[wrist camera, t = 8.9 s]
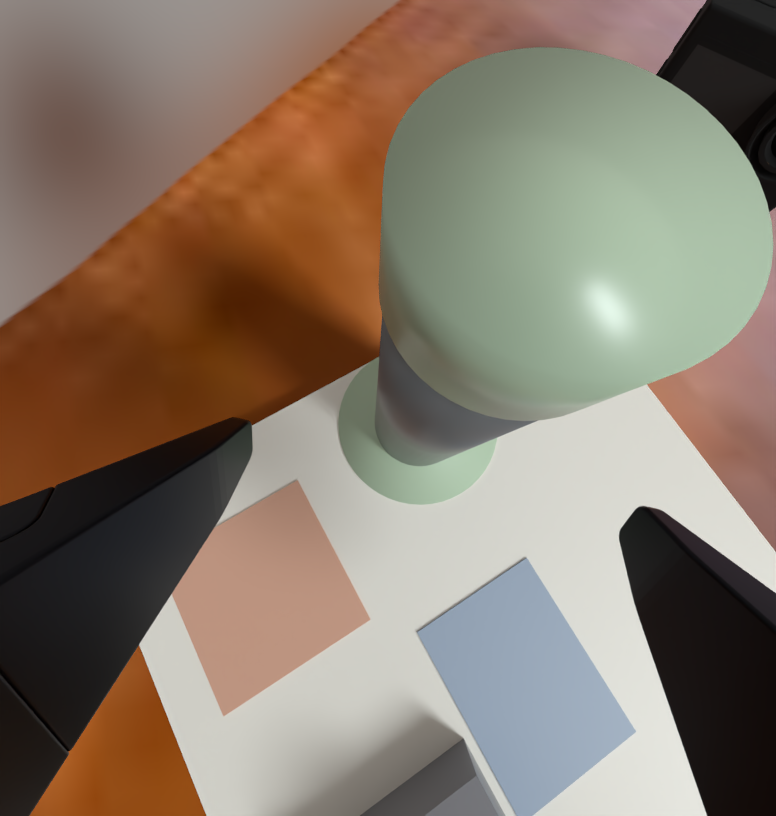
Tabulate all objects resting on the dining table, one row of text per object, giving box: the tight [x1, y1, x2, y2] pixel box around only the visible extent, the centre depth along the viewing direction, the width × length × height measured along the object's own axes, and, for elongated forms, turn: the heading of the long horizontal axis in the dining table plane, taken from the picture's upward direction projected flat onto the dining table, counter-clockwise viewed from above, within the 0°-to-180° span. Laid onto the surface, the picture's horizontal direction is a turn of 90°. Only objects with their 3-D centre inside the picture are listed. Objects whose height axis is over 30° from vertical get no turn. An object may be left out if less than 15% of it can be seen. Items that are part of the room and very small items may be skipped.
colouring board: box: [139, 357, 776, 816], centre depth 16 cm, size 27×24×1 cm
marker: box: [375, 47, 773, 466], centre depth 11 cm, size 5×5×14 cm
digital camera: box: [656, 0, 776, 212], centre depth 20 cm, size 10×5×7 cm, turn 58°
